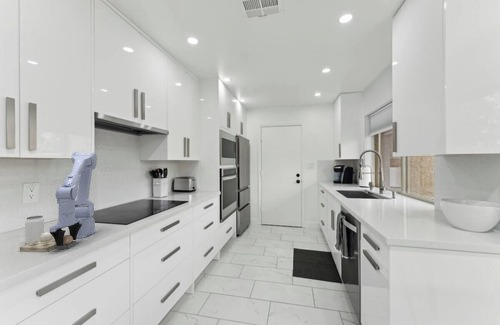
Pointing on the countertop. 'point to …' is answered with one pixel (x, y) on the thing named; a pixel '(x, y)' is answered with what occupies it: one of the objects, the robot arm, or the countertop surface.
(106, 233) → the countertop surface
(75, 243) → the egg stand
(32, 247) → the carton
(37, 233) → the can
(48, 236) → the white egg
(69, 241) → the brown egg
